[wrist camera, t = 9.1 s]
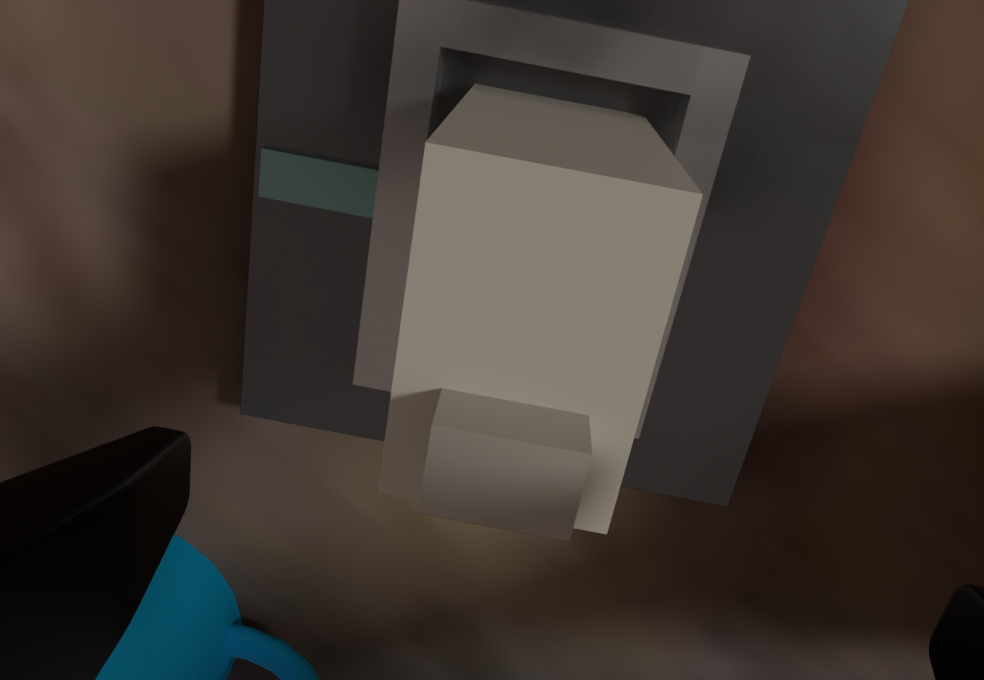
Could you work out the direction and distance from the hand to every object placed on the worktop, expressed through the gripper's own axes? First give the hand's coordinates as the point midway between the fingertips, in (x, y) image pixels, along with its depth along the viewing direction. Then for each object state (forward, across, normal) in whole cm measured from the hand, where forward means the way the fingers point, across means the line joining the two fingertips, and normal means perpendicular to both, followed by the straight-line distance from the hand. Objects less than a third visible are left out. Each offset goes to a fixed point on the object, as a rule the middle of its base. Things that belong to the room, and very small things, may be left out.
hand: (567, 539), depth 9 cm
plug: (+12, +1, 0) cm, 12 cm away
